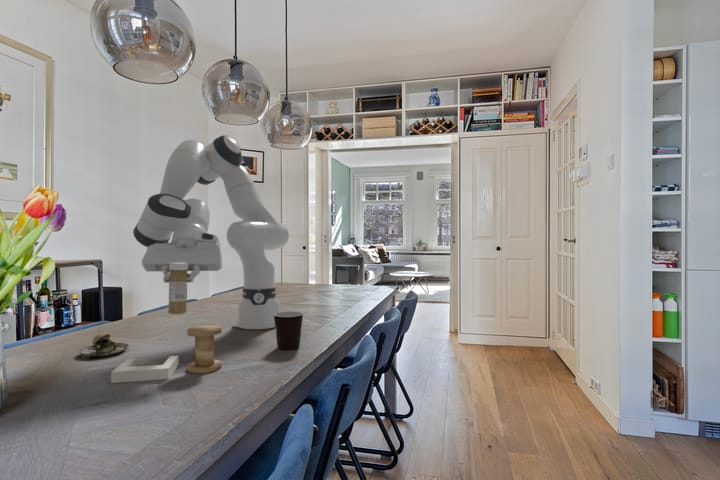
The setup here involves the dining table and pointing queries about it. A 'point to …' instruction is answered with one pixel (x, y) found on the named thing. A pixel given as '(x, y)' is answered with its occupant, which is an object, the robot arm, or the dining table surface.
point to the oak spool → (204, 349)
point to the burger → (102, 347)
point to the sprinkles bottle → (178, 287)
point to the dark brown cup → (288, 329)
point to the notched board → (143, 371)
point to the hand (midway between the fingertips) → (178, 281)
